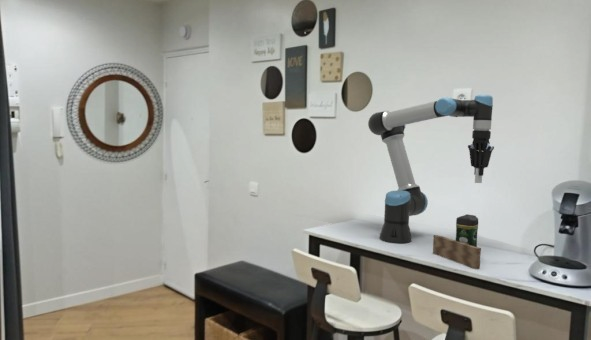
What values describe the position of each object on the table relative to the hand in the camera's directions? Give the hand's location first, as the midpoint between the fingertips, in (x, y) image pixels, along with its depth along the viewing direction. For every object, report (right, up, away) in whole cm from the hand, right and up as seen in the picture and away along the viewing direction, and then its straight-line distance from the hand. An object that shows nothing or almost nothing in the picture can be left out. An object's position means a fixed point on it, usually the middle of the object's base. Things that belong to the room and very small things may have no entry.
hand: (478, 182), depth 204 cm
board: (-17, -31, -18) cm, 40 cm away
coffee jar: (-12, -32, -15) cm, 37 cm away
